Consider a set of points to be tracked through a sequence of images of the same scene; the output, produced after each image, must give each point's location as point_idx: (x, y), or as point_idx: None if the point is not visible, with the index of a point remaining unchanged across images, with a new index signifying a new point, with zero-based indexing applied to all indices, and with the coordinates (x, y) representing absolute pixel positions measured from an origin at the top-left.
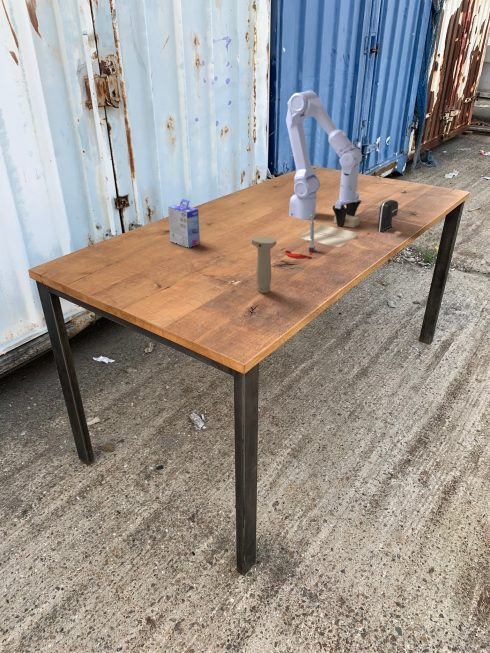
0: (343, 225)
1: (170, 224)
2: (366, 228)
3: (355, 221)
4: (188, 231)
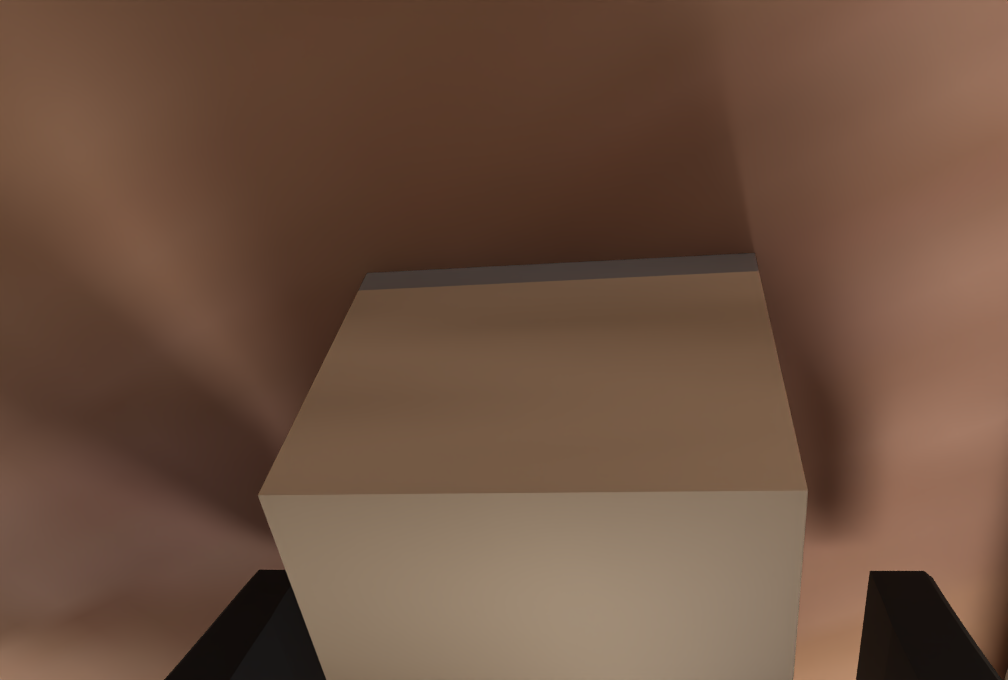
0: (885, 586)
1: None
2: (252, 61)
3: (669, 446)
4: None
